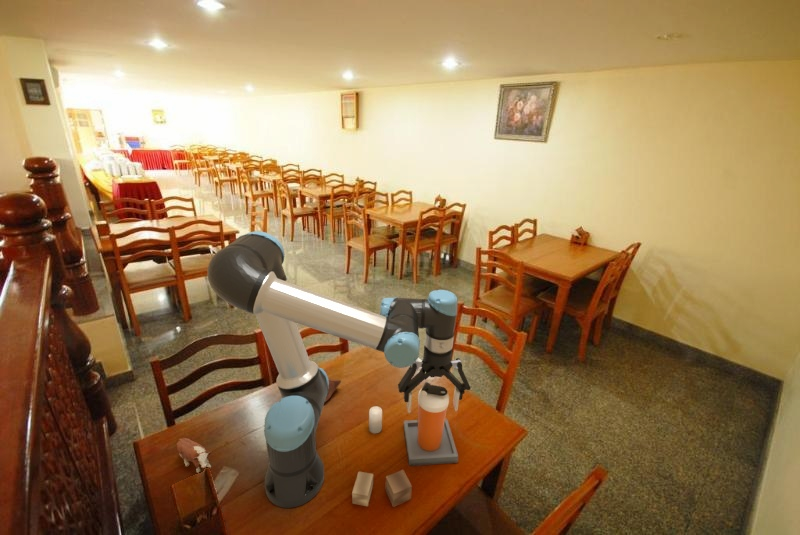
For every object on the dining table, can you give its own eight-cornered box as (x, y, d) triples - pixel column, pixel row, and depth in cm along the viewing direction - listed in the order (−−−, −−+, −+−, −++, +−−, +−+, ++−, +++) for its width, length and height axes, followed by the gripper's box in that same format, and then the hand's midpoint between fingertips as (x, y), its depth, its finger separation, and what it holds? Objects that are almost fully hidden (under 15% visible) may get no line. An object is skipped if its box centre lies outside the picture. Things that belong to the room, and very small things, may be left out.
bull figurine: (204, 485, 91) (199, 463, 88) (176, 460, 98) (171, 438, 95) (220, 472, 95) (215, 450, 92) (192, 449, 101) (187, 427, 98)
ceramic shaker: (369, 433, 109) (369, 416, 106) (368, 423, 113) (369, 406, 110) (382, 433, 109) (382, 415, 107) (381, 423, 113) (381, 406, 111)
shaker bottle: (442, 457, 101) (449, 402, 94) (412, 450, 103) (416, 396, 95) (445, 432, 109) (451, 381, 102) (416, 427, 111) (420, 375, 103)
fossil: (342, 377, 128) (332, 367, 120) (346, 400, 122) (335, 391, 115) (310, 389, 128) (297, 380, 120) (312, 412, 123) (299, 404, 115)
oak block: (352, 503, 89) (352, 492, 87) (358, 481, 94) (358, 471, 93) (367, 506, 88) (367, 495, 87) (373, 484, 94) (373, 473, 92)
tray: (409, 465, 99) (409, 459, 98) (403, 426, 112) (403, 420, 111) (457, 462, 101) (458, 456, 100) (446, 424, 114) (447, 418, 113)
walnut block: (393, 507, 88) (393, 493, 86) (385, 489, 92) (385, 476, 91) (410, 499, 90) (411, 486, 88) (402, 482, 94) (403, 469, 93)
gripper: (392, 356, 89) (390, 420, 96) (488, 353, 91) (477, 416, 99) (390, 339, 96) (388, 400, 103) (479, 337, 98) (470, 397, 106)
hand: (432, 408), depth 101 cm, fingers open, 13 cm apart
